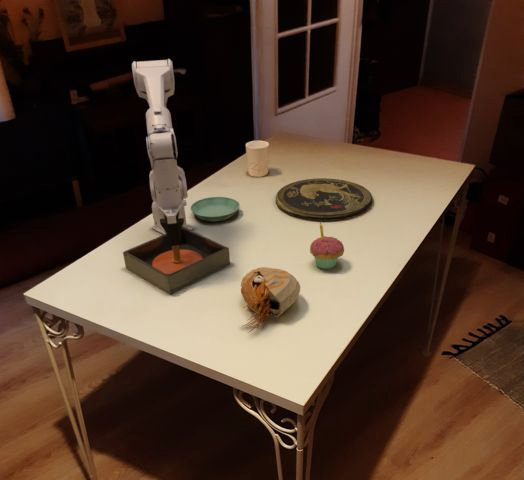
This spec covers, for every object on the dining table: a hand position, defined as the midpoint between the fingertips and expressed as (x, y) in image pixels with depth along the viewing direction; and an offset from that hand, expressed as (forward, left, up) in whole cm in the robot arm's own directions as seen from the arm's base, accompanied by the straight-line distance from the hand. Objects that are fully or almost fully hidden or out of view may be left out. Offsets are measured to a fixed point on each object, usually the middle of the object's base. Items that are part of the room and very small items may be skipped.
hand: (174, 237), depth 141 cm
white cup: (-30, +59, -8) cm, 67 cm away
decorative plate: (+2, +56, -8) cm, 57 cm away
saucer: (-16, +27, -8) cm, 33 cm away
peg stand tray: (0, 0, -8) cm, 8 cm away
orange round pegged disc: (0, 0, -8) cm, 8 cm away
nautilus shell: (+31, 0, -8) cm, 32 cm away
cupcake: (+28, +26, -8) cm, 39 cm away
